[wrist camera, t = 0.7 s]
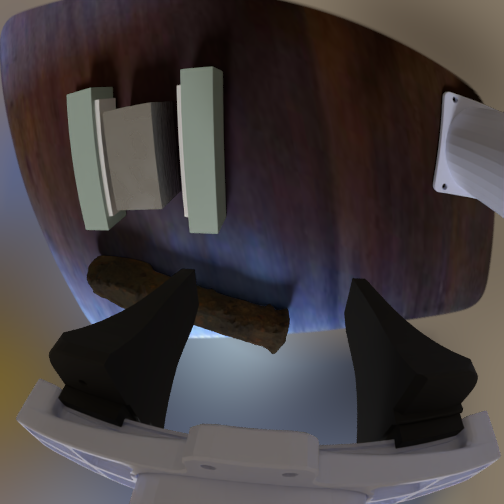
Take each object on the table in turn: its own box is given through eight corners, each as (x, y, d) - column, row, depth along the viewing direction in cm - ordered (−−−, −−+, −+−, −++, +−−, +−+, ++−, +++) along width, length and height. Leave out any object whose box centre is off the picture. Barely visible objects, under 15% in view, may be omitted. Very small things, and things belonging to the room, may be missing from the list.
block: (173, 101, 18) (150, 102, 15) (181, 190, 22) (162, 208, 18) (131, 108, 19) (102, 112, 15) (141, 192, 22) (117, 210, 19)
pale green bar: (116, 86, 18) (95, 86, 15) (130, 215, 23) (113, 230, 20) (75, 96, 18) (52, 99, 15) (91, 215, 23) (72, 229, 21)
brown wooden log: (294, 302, 26) (294, 339, 22) (276, 331, 28) (274, 367, 24) (103, 230, 24) (75, 254, 20) (100, 263, 26) (76, 290, 22)
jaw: (222, 71, 17) (212, 66, 14) (226, 216, 22) (217, 233, 20) (189, 74, 17) (174, 70, 14) (196, 215, 22) (184, 232, 20)
